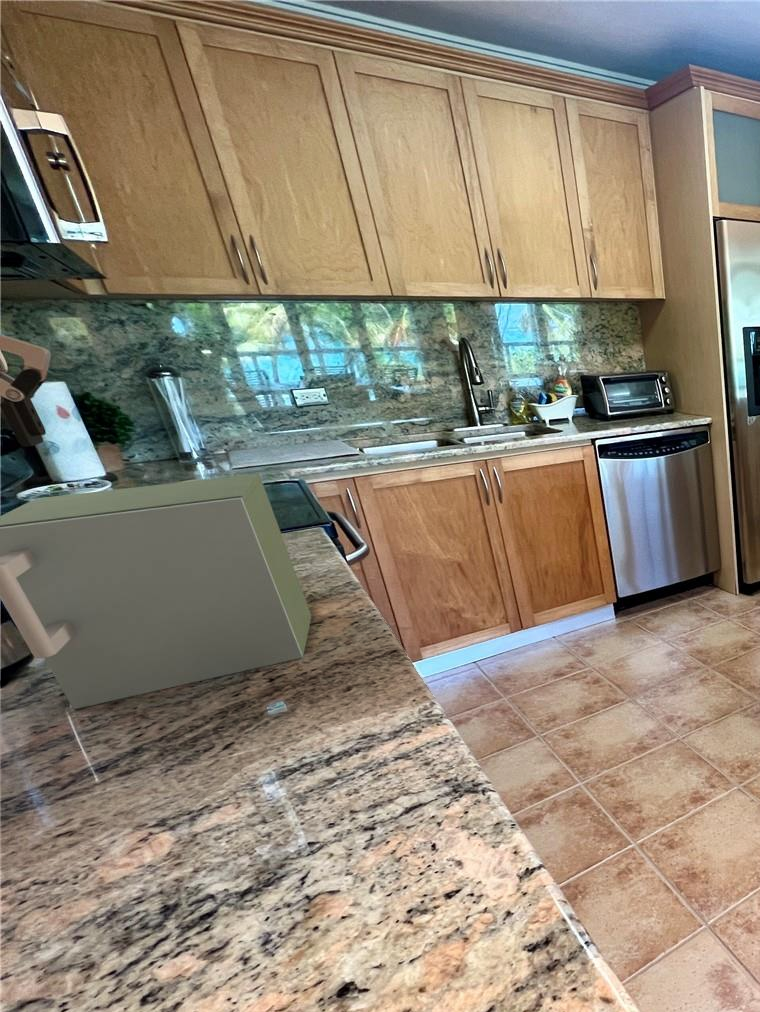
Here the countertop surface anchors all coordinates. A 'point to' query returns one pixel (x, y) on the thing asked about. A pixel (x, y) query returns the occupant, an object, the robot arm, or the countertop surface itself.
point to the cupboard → (180, 495)
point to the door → (144, 598)
